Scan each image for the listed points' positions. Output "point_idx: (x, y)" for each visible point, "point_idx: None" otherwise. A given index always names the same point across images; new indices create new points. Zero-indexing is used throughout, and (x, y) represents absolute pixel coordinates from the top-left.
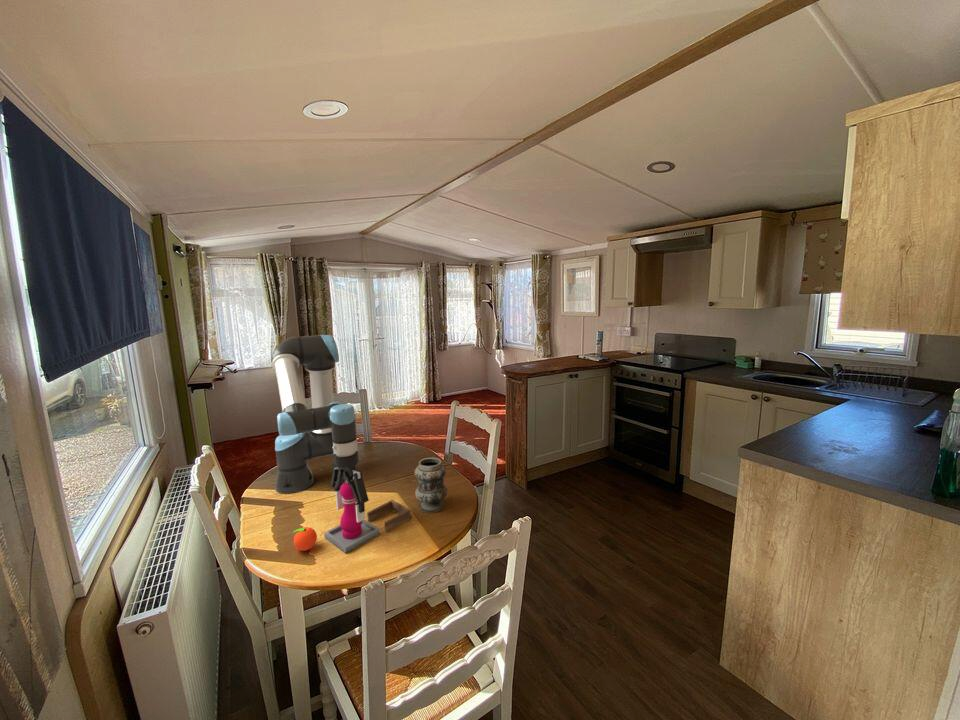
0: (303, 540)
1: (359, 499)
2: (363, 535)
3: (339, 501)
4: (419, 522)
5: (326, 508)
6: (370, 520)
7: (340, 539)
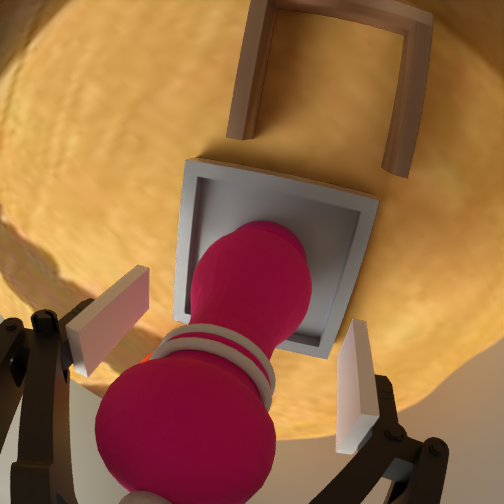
0: None
1: (391, 495)
2: (320, 249)
3: (123, 322)
4: (469, 48)
5: (39, 168)
6: (253, 133)
7: None
